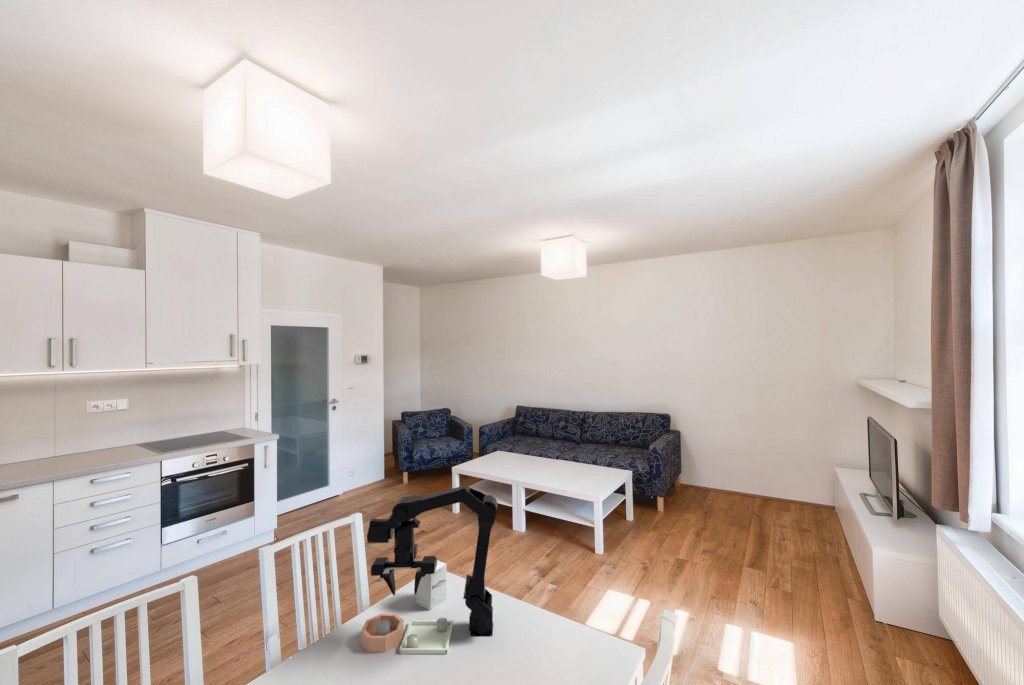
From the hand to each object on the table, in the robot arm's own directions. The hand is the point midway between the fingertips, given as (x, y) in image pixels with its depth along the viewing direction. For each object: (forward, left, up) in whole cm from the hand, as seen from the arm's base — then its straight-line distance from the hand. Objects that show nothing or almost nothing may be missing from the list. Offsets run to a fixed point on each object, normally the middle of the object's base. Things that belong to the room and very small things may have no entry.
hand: (404, 594), depth 128 cm
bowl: (+5, +4, -11) cm, 13 cm away
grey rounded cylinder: (+5, +4, -11) cm, 12 cm away
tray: (-8, +4, -11) cm, 14 cm away
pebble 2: (-11, 0, -11) cm, 15 cm away
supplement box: (-5, -15, -11) cm, 19 cm away
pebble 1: (-4, +8, -11) cm, 14 cm away
